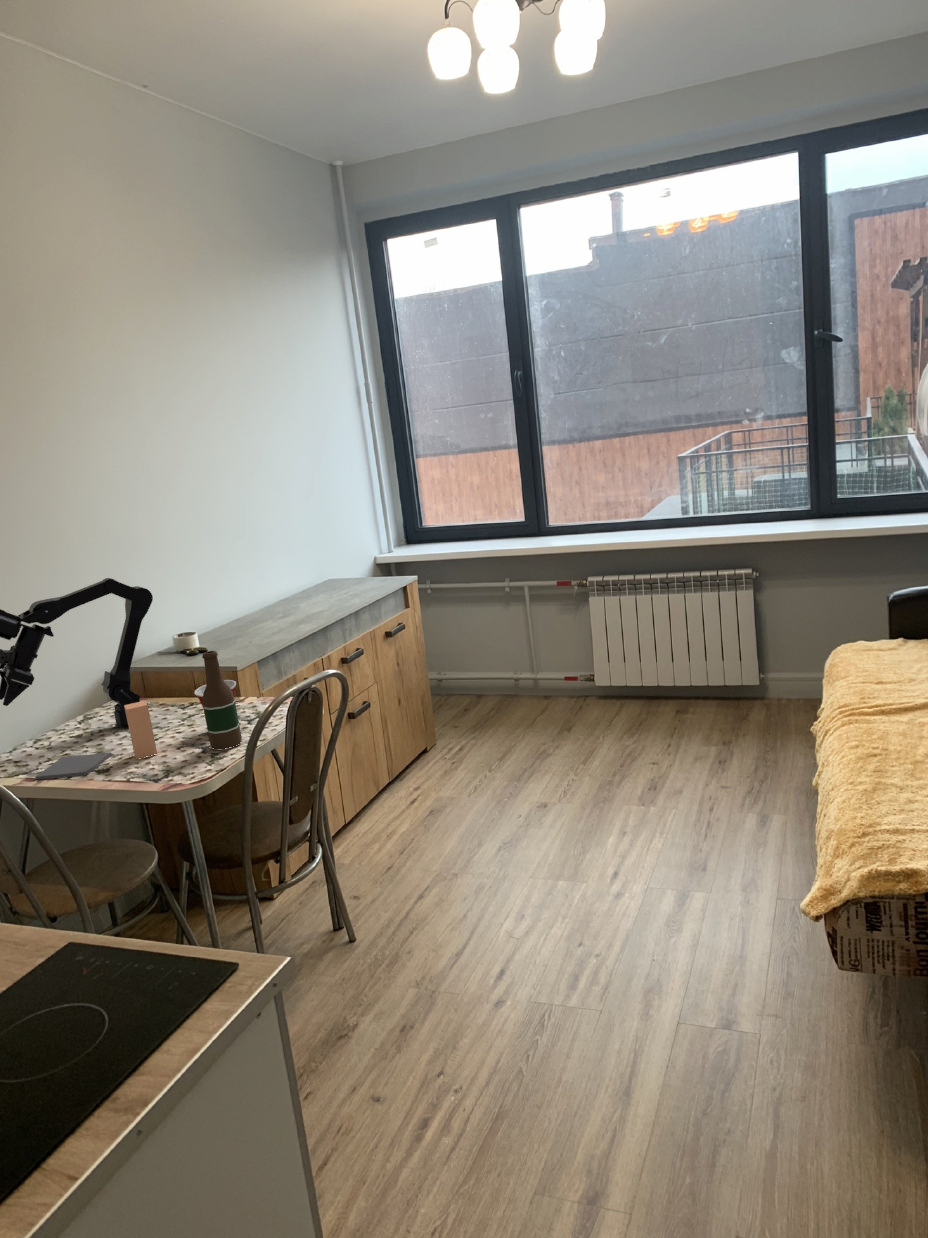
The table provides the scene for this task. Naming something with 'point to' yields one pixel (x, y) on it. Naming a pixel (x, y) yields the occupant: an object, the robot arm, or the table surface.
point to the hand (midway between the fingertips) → (2, 702)
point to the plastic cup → (201, 689)
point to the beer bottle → (219, 706)
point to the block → (140, 729)
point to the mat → (73, 766)
